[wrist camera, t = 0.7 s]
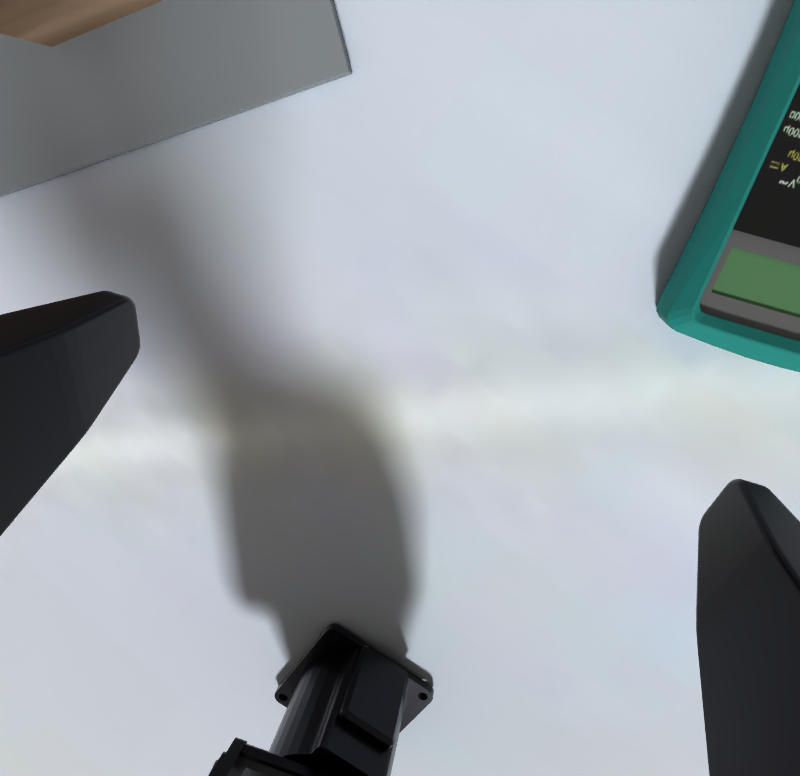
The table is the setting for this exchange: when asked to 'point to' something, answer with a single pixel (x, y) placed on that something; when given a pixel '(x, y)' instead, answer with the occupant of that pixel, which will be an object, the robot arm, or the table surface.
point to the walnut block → (61, 17)
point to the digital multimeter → (750, 230)
